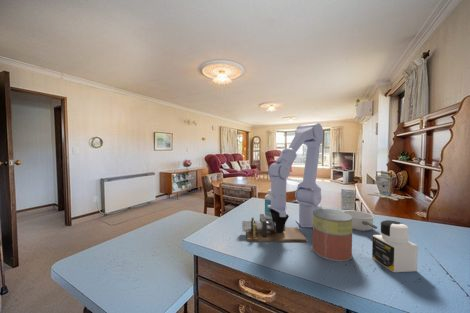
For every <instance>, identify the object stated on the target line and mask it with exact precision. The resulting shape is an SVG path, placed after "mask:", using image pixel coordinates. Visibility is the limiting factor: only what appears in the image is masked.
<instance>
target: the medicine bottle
mask: <svg viewBox="0 0 470 313" xmlns="http://www.w3.org/2000/svg"><path fill="white" fill-rule="evenodd" d="M409 234H410V229H409V227H408V225H406V224H405V223H403V222H400V221H398V220H397V221H396V220H392V219H391V220H386V219H385V220H382V221H380V234H373V235H372V245H371V246H372V248H371V251H372V252H371V255H372V256H371V258H372V259H373V260H374V261H376V262H378V264H380V265H381V266H383V267H385V268H386V269H387V270H389V271H391V273H408V272H409V273H410V272H417V271H418V259H419V258H418V255H419V253H418V252H419V250H418V249H419V247H418V245H417V244H416V243H413V242H411V241H409Z"/></svg>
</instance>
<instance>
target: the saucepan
mask: <svg viewBox="0 0 470 313" xmlns="http://www.w3.org/2000/svg"><path fill="white" fill-rule="evenodd" d="M342 212H345V213H348V214H350V215H351V216H352V217H353V219H352V230H356V231H363V232H366V230H367V231H370V230H373V229H374V230H376V229H378V226H376V225H375V224H374V219H375V215H373V214H372V213H369V212H366V211H365V212H364V211H361V210H353V209H351V210H349V209H347V210H343V211H342Z"/></svg>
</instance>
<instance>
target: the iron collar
mask: <svg viewBox="0 0 470 313" xmlns="http://www.w3.org/2000/svg"><path fill="white" fill-rule="evenodd" d="M259 221H262V237H267V221H268V220H267V218H265V213H260V214H259Z"/></svg>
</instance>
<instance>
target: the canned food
mask: <svg viewBox="0 0 470 313" xmlns="http://www.w3.org/2000/svg"><path fill="white" fill-rule="evenodd" d="M352 219H353V217H352V216H351V215H350V214H348V213H345V212H343V211H341V210H335V209H328V208H322V209H318V210H315V211H313V227H312V251H313V252H314V253H316V255H318V256H320V257H321V258H323V259H325V260H329V261H334V262H348V261H351V259H352V258H353V229H352Z"/></svg>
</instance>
